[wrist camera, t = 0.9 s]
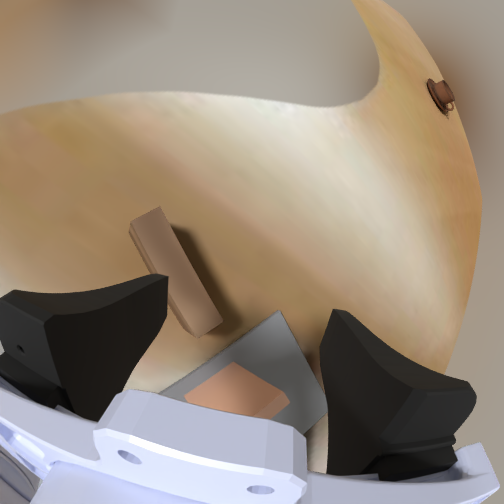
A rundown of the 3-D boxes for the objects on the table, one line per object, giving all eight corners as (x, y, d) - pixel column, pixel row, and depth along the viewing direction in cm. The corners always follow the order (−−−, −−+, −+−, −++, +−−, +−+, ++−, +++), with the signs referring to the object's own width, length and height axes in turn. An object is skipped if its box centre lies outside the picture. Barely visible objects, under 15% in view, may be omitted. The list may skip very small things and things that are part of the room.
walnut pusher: (183, 328, 25) (197, 338, 20) (128, 232, 23) (130, 221, 19) (204, 314, 26) (223, 321, 21) (152, 219, 24) (160, 206, 20)
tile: (191, 405, 23) (226, 453, 15) (183, 395, 23) (216, 443, 15) (239, 371, 26) (291, 403, 18) (233, 361, 26) (283, 392, 18)
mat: (208, 499, 23) (209, 502, 22) (117, 418, 20) (117, 420, 20) (329, 406, 31) (331, 407, 31) (277, 310, 29) (279, 310, 29)
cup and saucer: (446, 109, 66) (459, 104, 61) (441, 117, 62) (456, 110, 56) (428, 78, 64) (441, 72, 59) (421, 82, 59) (436, 75, 54)
